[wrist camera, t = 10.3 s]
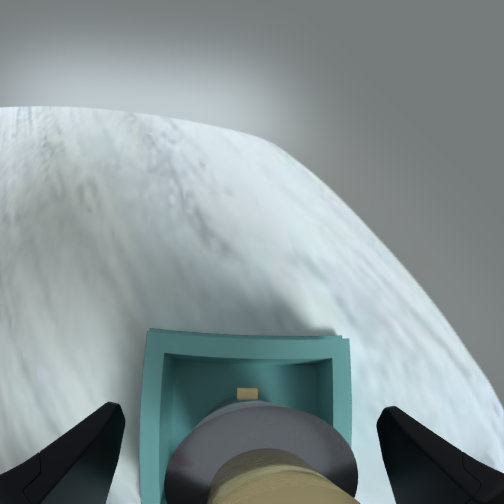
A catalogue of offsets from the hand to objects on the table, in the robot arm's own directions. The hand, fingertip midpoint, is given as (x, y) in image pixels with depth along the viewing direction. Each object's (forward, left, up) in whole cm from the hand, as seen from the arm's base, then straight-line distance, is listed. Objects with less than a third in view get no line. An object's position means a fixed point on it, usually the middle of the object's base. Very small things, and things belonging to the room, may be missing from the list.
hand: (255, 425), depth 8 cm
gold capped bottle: (0, -1, -7) cm, 8 cm away
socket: (0, -1, -8) cm, 8 cm away
